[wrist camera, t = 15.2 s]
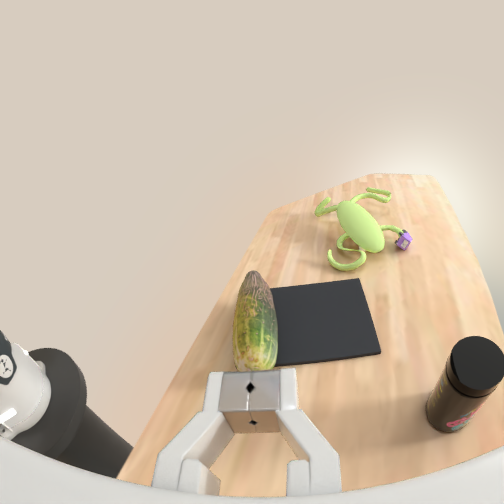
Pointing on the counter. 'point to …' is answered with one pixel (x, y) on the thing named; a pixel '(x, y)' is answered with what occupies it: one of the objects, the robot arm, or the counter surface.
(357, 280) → the mat
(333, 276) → the counter surface
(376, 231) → the figurine
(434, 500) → the robot arm
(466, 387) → the supplement container
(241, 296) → the vegetable
